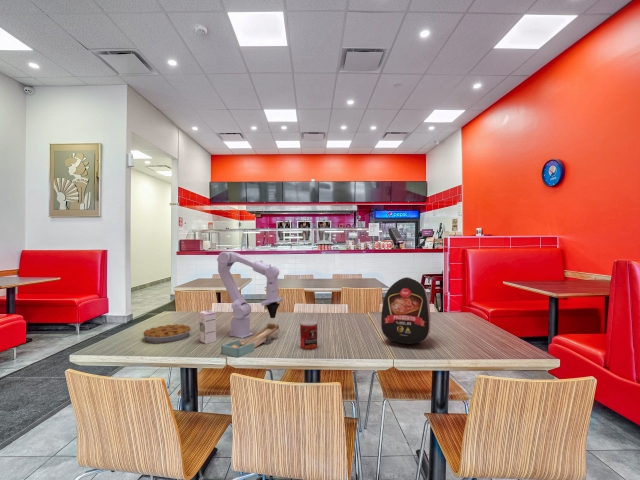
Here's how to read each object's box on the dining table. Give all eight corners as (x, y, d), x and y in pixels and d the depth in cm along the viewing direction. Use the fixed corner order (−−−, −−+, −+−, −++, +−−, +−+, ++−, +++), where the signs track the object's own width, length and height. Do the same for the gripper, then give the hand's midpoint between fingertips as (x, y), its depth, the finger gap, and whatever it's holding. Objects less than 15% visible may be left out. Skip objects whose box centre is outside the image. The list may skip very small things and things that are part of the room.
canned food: (304, 350, 139) (304, 325, 139) (297, 345, 146) (297, 321, 146) (320, 348, 143) (320, 323, 143) (312, 343, 150) (312, 319, 150)
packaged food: (379, 346, 144) (378, 279, 145) (385, 334, 163) (384, 275, 163) (430, 351, 137) (429, 280, 137) (431, 338, 155) (430, 276, 156)
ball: (235, 349, 139) (229, 354, 136) (233, 342, 138) (227, 347, 136) (240, 351, 137) (235, 356, 135) (238, 344, 137) (233, 349, 134)
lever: (232, 343, 150) (231, 337, 150) (257, 326, 165) (256, 321, 165) (254, 347, 143) (253, 342, 143) (279, 329, 158) (278, 324, 158)
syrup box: (216, 341, 154) (216, 311, 155) (204, 344, 150) (204, 313, 150) (210, 339, 158) (210, 309, 158) (199, 341, 154) (198, 311, 154)
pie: (149, 347, 147) (149, 336, 147) (138, 337, 163) (138, 327, 163) (197, 338, 161) (197, 328, 161) (182, 329, 178) (182, 320, 178)
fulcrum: (252, 342, 153) (252, 334, 153) (258, 339, 156) (258, 332, 156) (267, 344, 148) (267, 337, 148) (272, 342, 151) (272, 335, 151)
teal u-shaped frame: (221, 353, 137) (221, 345, 137) (238, 347, 145) (238, 339, 145) (237, 357, 132) (237, 348, 132) (254, 350, 140) (254, 342, 140)
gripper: (269, 293, 154) (269, 321, 153) (287, 289, 166) (287, 315, 166) (258, 292, 157) (258, 320, 157) (276, 288, 170) (276, 314, 170)
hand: (272, 317), depth 162 cm, fingers closed
